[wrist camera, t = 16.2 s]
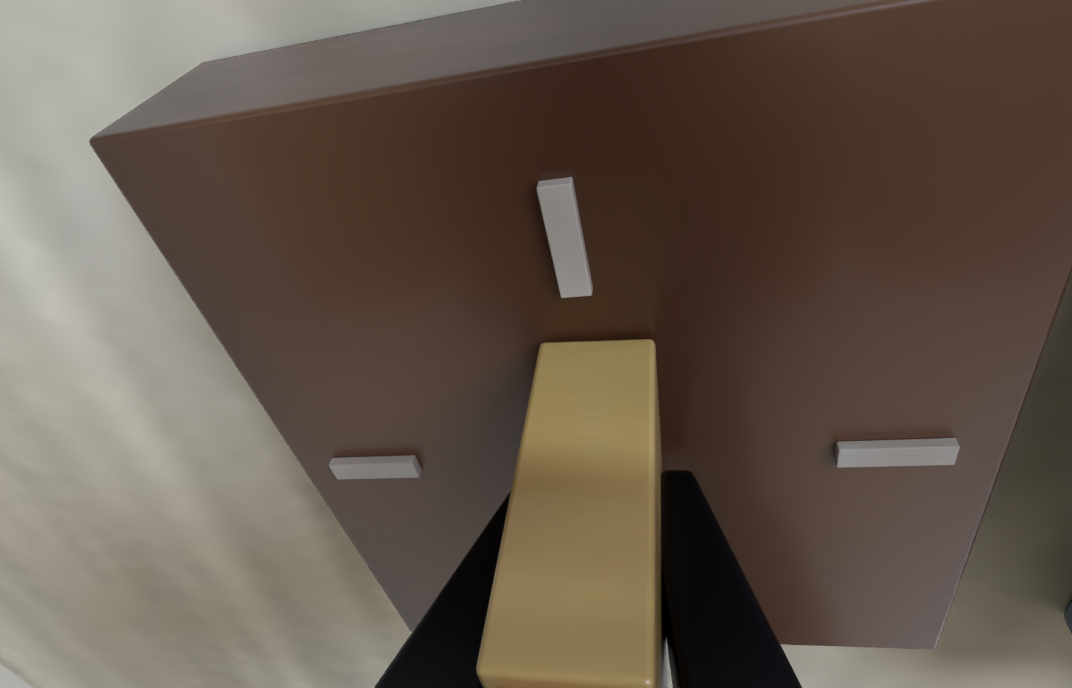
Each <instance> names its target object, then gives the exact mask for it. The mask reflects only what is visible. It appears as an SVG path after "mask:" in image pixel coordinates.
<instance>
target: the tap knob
mask: <svg viewBox="0 0 1072 688" xmlns="http://www.w3.org/2000/svg"><path fill="white" fill-rule="evenodd" d="M662 472H663V471H662V453H661V435H660V418H659V400H658V383H657V365H656V347H655V343H654V342H653V340H651V339H629V340H599V341H568V342H544V343H541V345H540V347H539V351H538V356H537V361H536V366H535V371H534V377H533V382H532V387H531V392H530V397H529V402H528V407H527V412H526V417H525V422H524V427H523V432H522V437H521V442H520V447H519V453H518V458H517V463H516V468H515V473H514V478H513V483H512V488H511V493H510V498H509V503H508V508H507V513H506V518H505V523H504V529H503V534H502V539H501V544H500V549H499V554H498V559H497V564H496V569H495V574H494V579H493V584H492V589H491V594H490V599H489V605H488V610H487V615H486V620H485V625H484V630H483V635H482V640H481V645H480V650H479V655H478V660H477V665H476V672H477V676H478V678H479V680H480V682H481V684H482V686H483V688H669V654H668V646H667V637H666V625H665V610H664V595H663V580H662V566H661V473H662Z"/></svg>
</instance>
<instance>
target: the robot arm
mask: <svg viewBox="0 0 1072 688" xmlns="http://www.w3.org/2000/svg"><path fill="white" fill-rule="evenodd" d="M510 493H511V491H510V492H509V494H508V495H507V497H506V498H505V500H504V501H503V502H502V504H501V505H500V507H499V508H498V510H497V511H496V513H495V514H494V515H493V517H492V518H491V520H490V521H489V523H488V524H487V526H486V527H485V528H484V530H483V531H482V533H481V534H480V536H479V537H478V538H477V540H476V541H475V543H474V544H473V546H472V547H471V549H470V550H469V551H468V553H467V554H466V556H465V557H464V559H463V560H462V562H461V563H460V564H459V566H458V567H457V569H456V570H455V572H454V573H453V575H452V576H451V577H450V579H449V580H448V582H447V583H446V585H445V586H444V588H443V589H442V590H441V592H440V593H439V595H438V596H437V598H436V599H435V601H434V602H433V603H432V605H431V606H430V608H429V609H428V611H427V612H426V613H425V615H424V616H423V618H422V619H421V621H420V622H419V624H418V625H417V626H416V628H415V629H414V631H413V632H412V634H411V635H410V637H409V638H408V639H407V641H406V642H405V644H404V645H403V647H402V648H401V650H400V651H399V652H398V654H397V655H396V657H395V658H394V660H393V661H392V663H391V664H390V665H389V667H388V668H387V670H386V671H385V673H384V674H383V675H382V677H381V678H380V680H379V681H378V683H377V684H376V686H375V688H483V686H482V684H481V682H480V680H479V678H478V676H477V672H476V665H477V660H478V655H479V650H480V645H481V640H482V635H483V630H484V625H485V620H486V615H487V610H488V605H489V599H490V594H491V589H492V584H493V579H494V574H495V569H496V564H497V559H498V554H499V549H500V544H501V539H502V534H503V529H504V523H505V518H506V513H507V508H508V503H509V498H510ZM661 566H662V580H663V595H664V610H665V625H666V637H667V646H668V654H669V662H670V669H671V676H672V683H673V688H802V687H801V685H800V683H799V681H798V679H797V677H796V675H795V673H794V671H793V669H792V667H791V665H790V663H789V661H788V659H787V657H786V655H785V653H784V651H783V649H782V647H781V645H780V643H779V641H778V639H777V637H776V635H775V633H774V631H773V629H772V627H771V625H770V623H769V621H768V619H767V618H766V616H765V614H764V612H763V610H762V608H761V606H760V604H759V602H758V600H757V598H756V596H755V594H754V592H753V590H752V588H751V586H750V584H749V582H748V580H747V578H746V576H745V574H744V572H743V570H742V568H741V566H740V564H739V562H738V560H737V558H736V556H735V554H734V552H733V550H732V548H731V546H730V544H729V542H728V540H727V538H726V536H725V534H724V533H723V531H722V529H721V527H720V525H719V523H718V521H717V519H716V517H715V515H714V513H713V511H712V509H711V507H710V505H709V503H708V501H707V499H706V497H705V495H704V493H703V491H702V489H701V487H700V485H699V483H698V481H697V479H696V477H695V475H694V474H693V473H692V472H691V471H689V470H665V471H663V472H662V473H661Z"/></svg>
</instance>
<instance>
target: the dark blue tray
mask: <svg viewBox="0 0 1072 688" xmlns="http://www.w3.org/2000/svg"><path fill="white" fill-rule="evenodd" d="M1064 618H1065V620H1066V622H1067V625H1068V627H1069V629H1070V631H1071V633H1072V601H1071V603H1070V604H1069V606H1068V608H1067V610H1066V611H1065V613H1064Z"/></svg>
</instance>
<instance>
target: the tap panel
mask: <svg viewBox="0 0 1072 688" xmlns="http://www.w3.org/2000/svg"><path fill="white" fill-rule="evenodd" d="M89 142H90V145H91V147H92V148H93V150H94V151H95V153H96V154H97V156H98V157H99V159H100V160H101V162H102V163H103V165H104V166H105V168H106V169H107V171H108V172H109V174H110V175H111V177H112V178H113V180H114V181H115V183H116V185H117V186H118V188H119V189H120V191H121V192H122V194H123V195H124V197H125V198H126V200H127V201H128V203H129V204H130V206H131V207H132V209H133V210H134V212H135V213H136V215H137V216H138V218H139V219H140V221H141V222H142V224H143V225H144V227H145V229H146V230H147V232H148V233H149V235H150V236H151V238H152V239H153V241H154V242H155V244H156V245H157V247H158V248H159V250H160V251H161V253H162V254H163V256H164V257H165V259H166V260H167V262H168V263H169V265H170V266H171V268H172V270H173V271H174V273H175V274H176V276H177V277H178V279H179V280H180V282H181V283H182V285H183V286H184V288H185V289H186V291H187V292H188V294H189V295H190V297H191V298H192V300H193V301H194V303H195V304H196V306H197V307H198V309H199V310H200V312H201V314H202V315H203V317H204V318H205V320H206V321H207V323H208V324H209V326H210V327H211V329H212V330H213V332H214V333H215V335H216V336H217V338H218V339H219V341H220V342H221V344H222V345H223V347H224V348H225V350H226V351H227V353H228V355H229V356H230V358H231V359H232V361H233V362H234V364H235V365H236V367H237V368H238V370H239V371H240V373H241V374H242V376H243V377H244V379H245V380H246V382H247V383H248V385H249V386H250V388H251V389H252V391H253V392H254V394H255V395H256V397H257V399H258V400H259V402H260V403H261V405H262V406H263V408H264V409H265V411H266V412H267V414H268V415H269V417H270V418H271V420H272V421H273V423H274V424H275V426H276V427H277V429H278V430H279V432H280V433H281V435H282V436H283V438H284V440H285V441H286V443H287V444H288V446H289V447H290V449H291V450H292V452H293V453H294V455H295V456H296V458H297V459H298V461H299V462H300V464H301V465H302V467H303V468H304V470H305V471H306V473H307V474H308V476H309V477H310V479H311V481H312V482H313V484H314V485H315V487H316V488H317V490H318V491H319V493H320V494H321V496H322V497H323V499H324V500H325V502H326V503H327V505H328V506H329V508H330V509H331V511H332V512H333V514H334V515H335V517H336V518H337V520H338V521H339V523H340V525H341V526H342V528H343V529H344V531H345V532H346V534H347V535H348V537H349V538H350V540H351V541H352V543H353V544H354V546H355V547H356V549H357V550H358V552H359V553H360V555H361V556H362V558H363V559H364V561H365V562H366V564H367V566H368V567H369V569H370V570H371V572H372V573H373V575H374V576H375V578H376V579H377V581H378V582H379V584H380V585H381V587H382V588H383V590H384V591H385V593H386V594H387V596H388V597H389V599H390V600H391V602H392V603H393V605H394V606H395V608H396V610H397V611H398V613H399V614H400V616H401V617H402V619H403V620H404V622H405V623H406V625H407V626H408V628H409V629H410V631H412V632H413V631H414V629H415V628H416V626H417V625H418V624H419V622H420V621H421V619H422V618H423V616H424V615H425V613H426V612H427V611H428V609H429V608H430V606H431V605H432V603H433V602H434V601H435V599H436V598H437V596H438V595H439V593H440V592H441V590H442V589H443V588H444V586H445V585H446V583H447V582H448V580H449V579H450V577H451V576H452V575H453V573H454V572H455V570H456V569H457V567H458V566H459V564H460V563H461V562H462V560H463V559H464V557H465V556H466V554H467V553H468V551H469V550H470V549H471V547H472V546H473V544H474V543H475V541H476V540H477V538H478V537H479V536H480V534H481V533H482V531H483V530H484V528H485V527H486V526H487V524H488V523H489V521H490V520H491V518H492V517H493V515H494V514H495V513H496V511H497V510H498V508H499V507H500V505H501V504H502V502H503V501H504V500H505V498H506V497H507V495H508V494H509V492H510V491H511V488H512V483H513V478H514V473H515V468H516V463H517V458H518V453H519V447H520V442H521V437H522V432H523V427H524V422H525V417H526V412H527V407H528V402H529V397H530V392H531V387H532V382H533V377H534V371H535V366H536V361H537V356H538V351H539V347H540V345H541V343H544V342H568V341H599V340H629V339H651V340H653V342H654V343H655V347H656V365H657V383H658V400H659V418H660V435H661V453H662V471H665V470H689V471H691V472H692V473H693V474H694V475H695V477H696V479H697V481H698V483H699V485H700V487H701V489H702V491H703V493H704V495H705V497H706V499H707V501H708V503H709V505H710V507H711V509H712V511H713V513H714V515H715V517H716V519H717V521H718V523H719V525H720V527H721V529H722V531H723V533H724V534H725V536H726V538H727V540H728V542H729V544H730V546H731V548H732V550H733V552H734V554H735V556H736V558H737V560H738V562H739V564H740V566H741V568H742V570H743V572H744V574H745V576H746V578H747V580H748V582H749V584H750V586H751V588H752V590H753V592H754V594H755V596H756V598H757V600H758V602H759V604H760V606H761V608H762V610H763V612H764V614H765V616H766V618H767V619H768V621H769V623H770V625H771V627H772V629H773V631H774V633H775V635H776V637H777V639H778V641H779V643H780V644H788V645H817V646H847V647H876V648H905V649H935V648H936V646H937V643H938V641H939V638H940V635H941V632H942V630H943V627H944V624H945V621H946V618H947V616H948V613H949V610H950V607H951V605H952V602H953V599H954V596H955V593H956V591H957V588H958V585H959V582H960V579H961V577H962V574H963V571H964V568H965V566H966V563H967V560H968V557H969V554H970V552H971V549H972V546H973V543H974V541H975V538H976V535H977V532H978V529H979V527H980V524H981V521H982V518H983V515H984V513H985V510H986V507H987V504H988V502H989V499H990V496H991V493H992V490H993V488H994V485H995V482H996V479H997V477H998V474H999V471H1000V468H1001V465H1002V463H1003V460H1004V457H1005V454H1006V452H1007V449H1008V446H1009V443H1010V440H1011V438H1012V435H1013V432H1014V429H1015V426H1016V424H1017V421H1018V418H1019V415H1020V413H1021V410H1022V407H1023V404H1024V401H1025V399H1026V396H1027V393H1028V390H1029V388H1030V385H1031V382H1032V379H1033V376H1034V374H1035V371H1036V368H1037V365H1038V363H1039V360H1040V357H1041V354H1042V351H1043V349H1044V346H1045V343H1046V340H1047V337H1048V335H1049V332H1050V329H1051V326H1052V324H1053V321H1054V318H1055V315H1056V312H1057V310H1058V307H1059V304H1060V301H1061V299H1062V296H1063V293H1064V290H1065V287H1066V285H1067V282H1068V279H1069V276H1070V274H1071V271H1072V0H521V1H516V2H511V3H506V4H500V5H495V6H490V7H485V8H480V9H475V10H470V11H465V12H459V13H454V14H449V15H444V16H439V17H434V18H429V19H424V20H419V21H413V22H408V23H403V24H398V25H393V26H388V27H383V28H378V29H372V30H367V31H362V32H357V33H352V34H347V35H342V36H337V37H332V38H326V39H321V40H316V41H311V42H306V43H301V44H296V45H291V46H286V47H280V48H275V49H270V50H265V51H260V52H255V53H250V54H245V55H239V56H234V57H229V58H224V59H219V60H214V61H209V62H204V63H201V64H200V65H198V66H197V67H196V68H194V69H193V70H191V71H190V72H188V73H187V74H185V75H184V76H182V77H181V78H179V79H178V80H176V81H175V82H173V83H172V84H170V85H169V86H167V87H166V88H164V89H163V90H161V91H160V92H158V93H157V94H155V95H154V96H152V97H151V98H149V99H148V100H146V101H145V102H144V103H142V104H141V105H139V106H138V107H136V108H135V109H133V110H132V111H130V112H129V113H127V114H126V115H124V116H123V117H121V118H120V119H118V120H117V121H115V122H114V123H112V124H111V125H109V126H108V127H106V128H105V129H103V130H102V131H100V132H99V133H97V134H96V135H94V136H93V137H92V138H91V139H90V141H89Z"/></svg>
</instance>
